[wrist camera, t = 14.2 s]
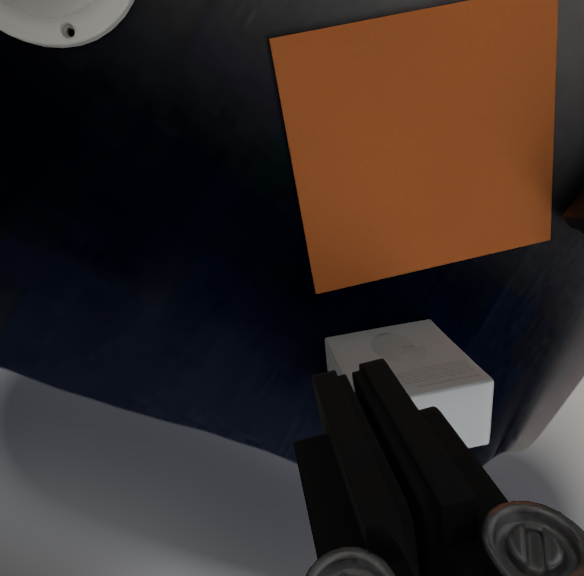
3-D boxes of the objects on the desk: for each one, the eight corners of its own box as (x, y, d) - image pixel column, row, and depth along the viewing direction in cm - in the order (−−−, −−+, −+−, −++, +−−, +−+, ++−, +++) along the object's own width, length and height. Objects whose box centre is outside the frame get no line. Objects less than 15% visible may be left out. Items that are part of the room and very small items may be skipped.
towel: (268, 39, 31) (269, 38, 31) (556, -17, 32) (559, -18, 32) (315, 292, 38) (316, 294, 38) (548, 239, 40) (550, 239, 39)
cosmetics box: (329, 395, 42) (360, 475, 32) (323, 336, 40) (354, 403, 30) (432, 375, 43) (492, 448, 33) (431, 317, 41) (496, 377, 31)
